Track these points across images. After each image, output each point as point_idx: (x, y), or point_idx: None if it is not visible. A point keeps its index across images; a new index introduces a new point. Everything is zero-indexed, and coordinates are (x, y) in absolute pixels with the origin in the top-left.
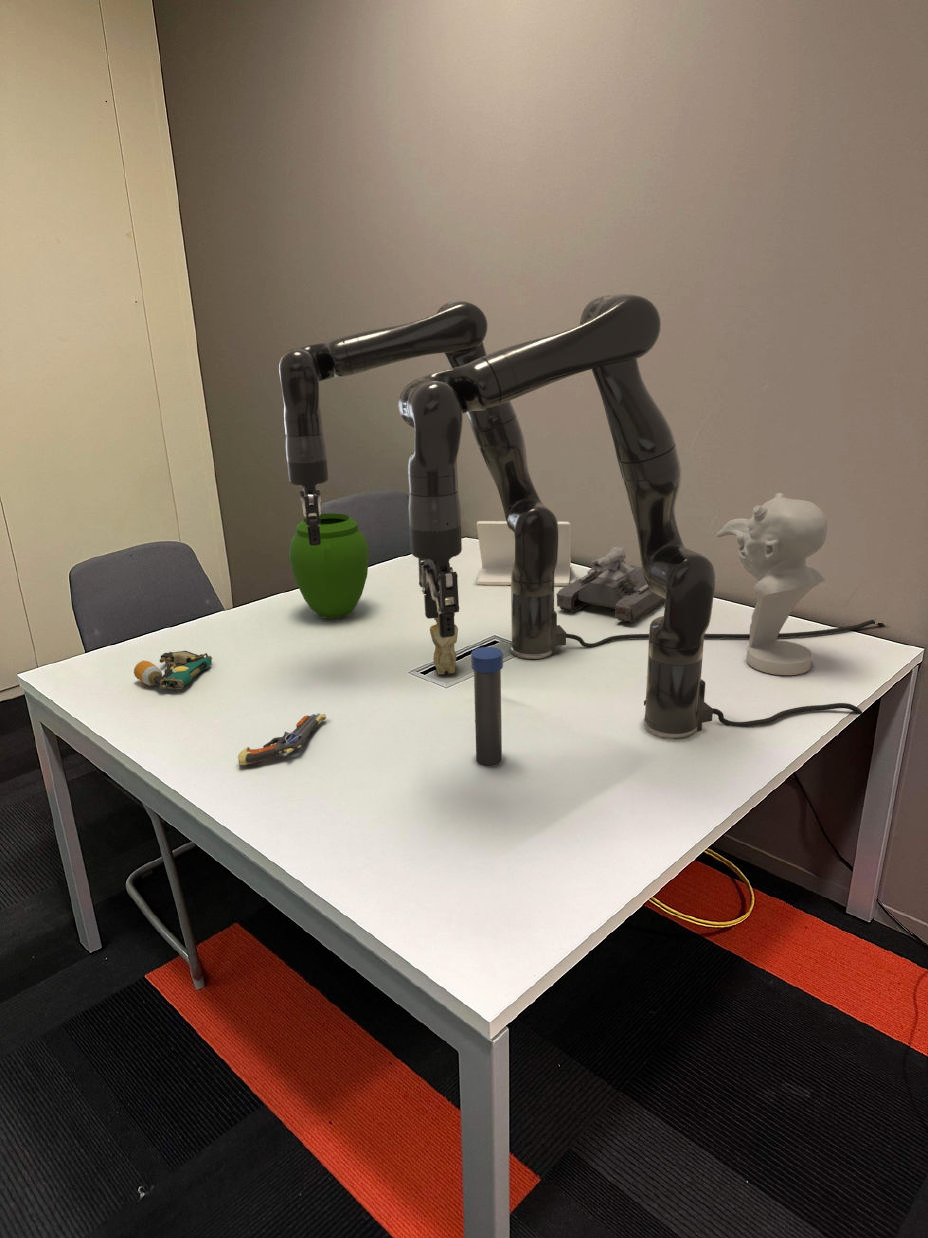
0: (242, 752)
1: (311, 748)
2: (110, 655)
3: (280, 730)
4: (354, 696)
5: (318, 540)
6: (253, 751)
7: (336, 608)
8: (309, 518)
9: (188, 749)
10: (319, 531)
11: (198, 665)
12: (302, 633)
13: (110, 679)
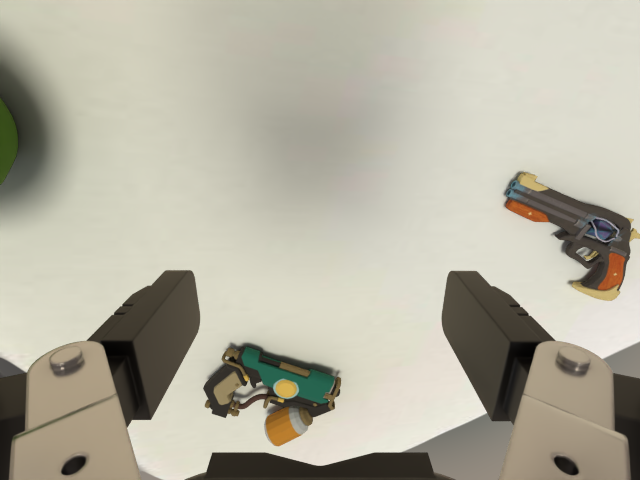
0: (608, 296)
1: (596, 198)
2: (174, 463)
3: (514, 241)
4: (438, 114)
5: (508, 295)
6: (611, 282)
7: (9, 122)
8: (154, 390)
9: None
10: (517, 316)
11: (275, 367)
12: (100, 200)
13: (262, 452)
